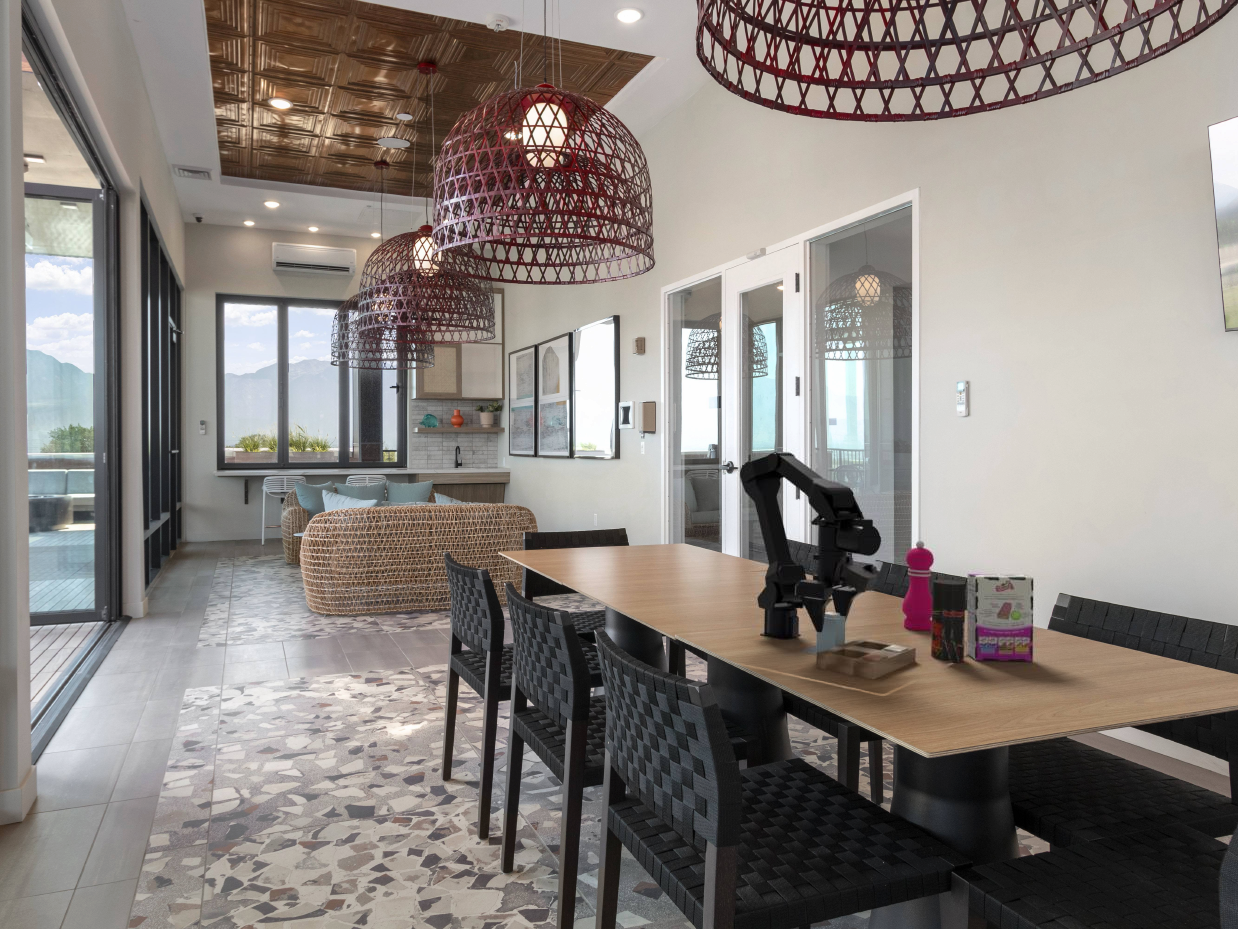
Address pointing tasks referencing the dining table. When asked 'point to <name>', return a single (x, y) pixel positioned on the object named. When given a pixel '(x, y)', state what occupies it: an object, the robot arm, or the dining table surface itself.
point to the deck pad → (810, 651)
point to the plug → (831, 632)
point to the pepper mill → (918, 589)
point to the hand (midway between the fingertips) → (830, 628)
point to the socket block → (866, 658)
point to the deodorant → (948, 620)
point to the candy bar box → (1000, 617)
